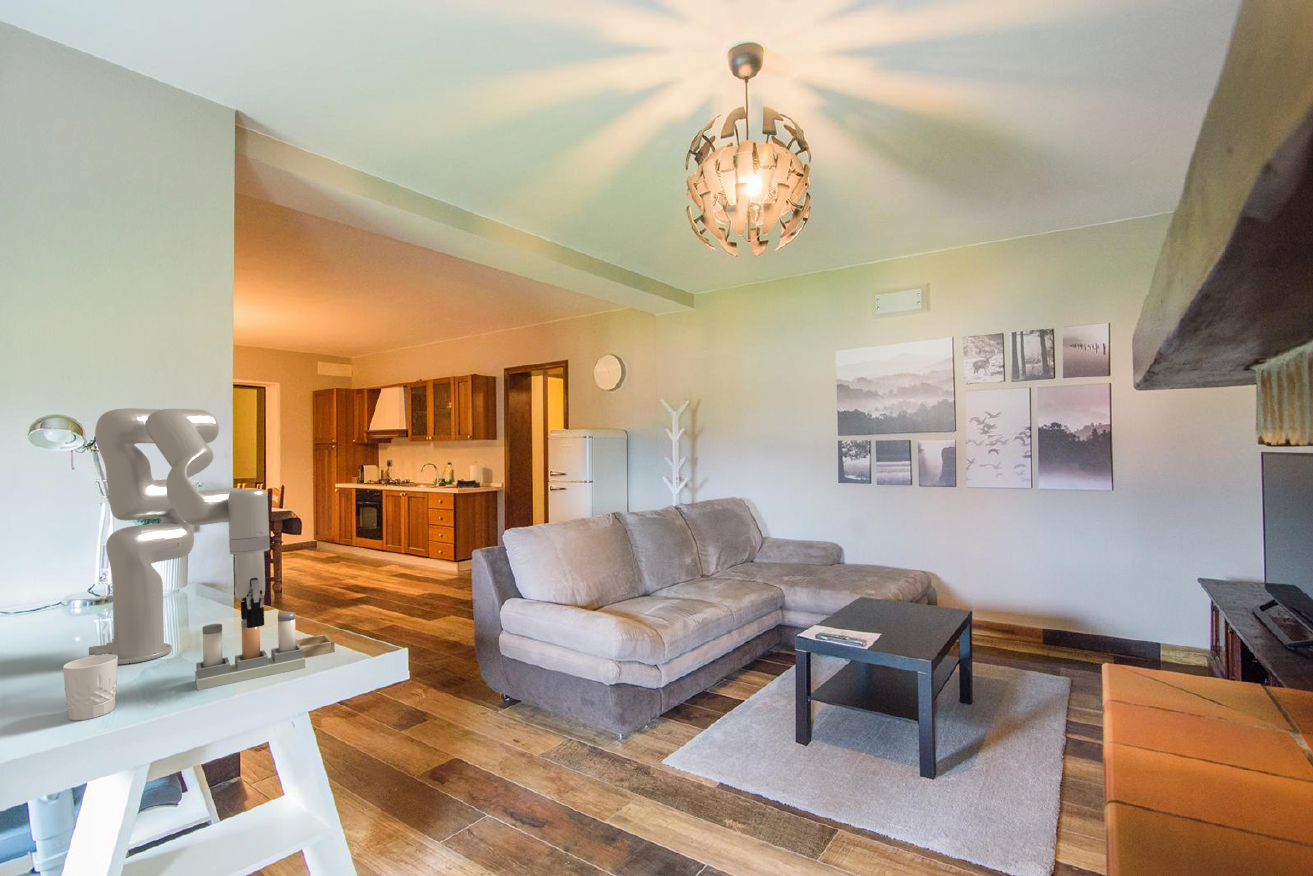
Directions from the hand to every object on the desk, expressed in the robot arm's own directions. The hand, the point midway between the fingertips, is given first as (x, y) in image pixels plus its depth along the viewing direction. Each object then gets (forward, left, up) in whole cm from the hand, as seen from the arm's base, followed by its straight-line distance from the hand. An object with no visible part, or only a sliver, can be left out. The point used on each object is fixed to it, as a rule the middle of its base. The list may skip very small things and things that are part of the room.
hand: (252, 622), depth 143 cm
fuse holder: (0, +1, -12) cm, 12 cm away
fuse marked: (0, +1, -10) cm, 10 cm away
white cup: (-27, -3, -12) cm, 29 cm away
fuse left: (-7, +1, -10) cm, 12 cm away
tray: (+13, +9, -12) cm, 20 cm away
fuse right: (+7, +1, -10) cm, 12 cm away
